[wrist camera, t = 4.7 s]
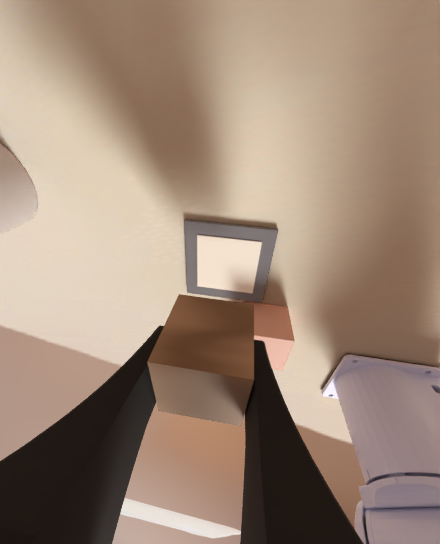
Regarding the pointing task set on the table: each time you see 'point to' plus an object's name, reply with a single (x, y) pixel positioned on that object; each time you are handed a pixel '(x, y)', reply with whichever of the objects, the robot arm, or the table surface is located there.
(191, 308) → the walnut block
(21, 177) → the coffee cup
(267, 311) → the terracotta block
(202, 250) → the mat
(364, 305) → the table surface
